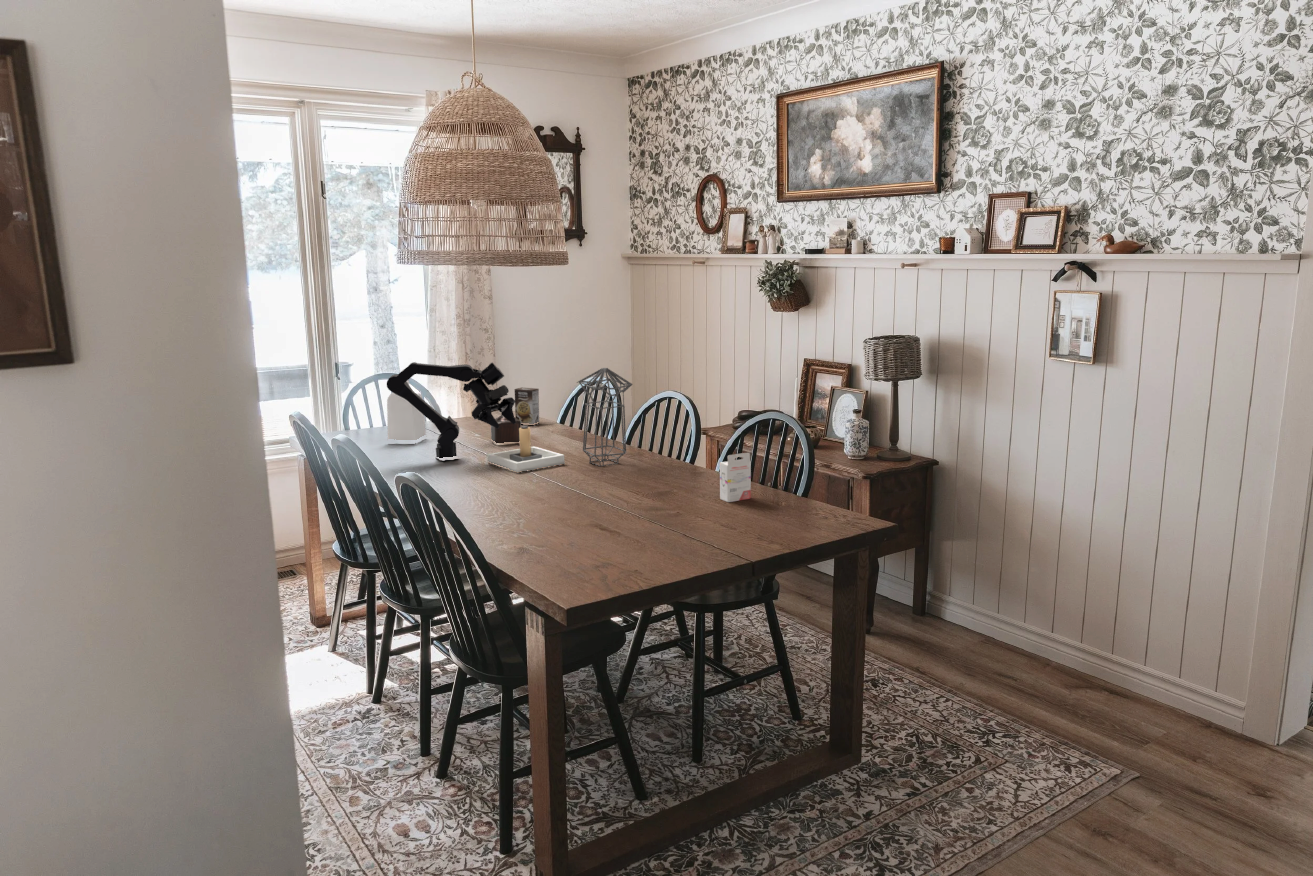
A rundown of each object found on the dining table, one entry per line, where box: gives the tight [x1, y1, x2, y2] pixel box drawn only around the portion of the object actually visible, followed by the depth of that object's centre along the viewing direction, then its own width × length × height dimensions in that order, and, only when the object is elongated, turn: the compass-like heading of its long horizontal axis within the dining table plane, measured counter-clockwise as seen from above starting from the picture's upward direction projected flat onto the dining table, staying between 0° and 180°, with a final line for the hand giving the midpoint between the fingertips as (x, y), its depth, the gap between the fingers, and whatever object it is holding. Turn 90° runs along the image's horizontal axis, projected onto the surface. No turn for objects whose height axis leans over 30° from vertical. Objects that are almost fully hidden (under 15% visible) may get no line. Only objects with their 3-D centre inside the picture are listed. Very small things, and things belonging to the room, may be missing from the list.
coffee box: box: [514, 387, 540, 424], centre depth 404 cm, size 9×6×16 cm
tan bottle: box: [519, 425, 532, 457], centre depth 328 cm, size 4×4×13 cm
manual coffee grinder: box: [476, 402, 522, 443], centre depth 364 cm, size 16×11×18 cm
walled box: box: [487, 446, 566, 472], centre depth 329 cm, size 20×20×4 cm
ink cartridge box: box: [719, 452, 752, 503], centre depth 279 cm, size 9×5×15 cm, turn 117°
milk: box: [386, 379, 427, 440], centre depth 368 cm, size 12×12×26 cm
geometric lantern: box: [576, 367, 633, 467], centre depth 325 cm, size 16×16×35 cm
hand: (506, 425), depth 330 cm, fingers open, 9 cm apart
